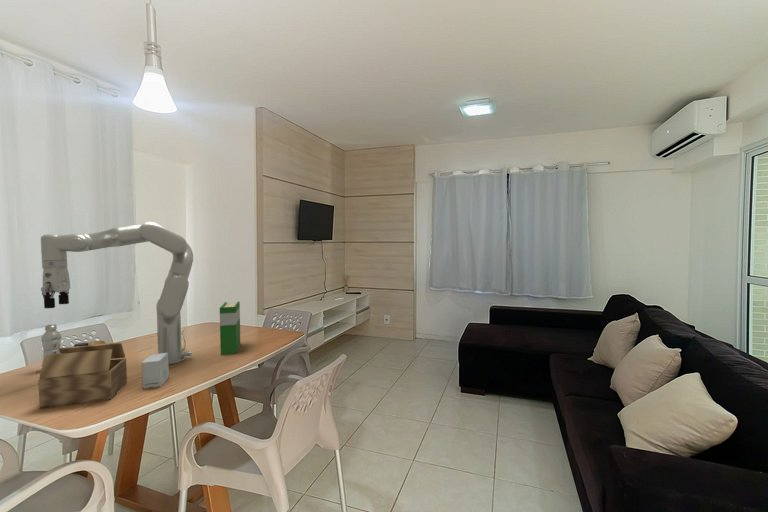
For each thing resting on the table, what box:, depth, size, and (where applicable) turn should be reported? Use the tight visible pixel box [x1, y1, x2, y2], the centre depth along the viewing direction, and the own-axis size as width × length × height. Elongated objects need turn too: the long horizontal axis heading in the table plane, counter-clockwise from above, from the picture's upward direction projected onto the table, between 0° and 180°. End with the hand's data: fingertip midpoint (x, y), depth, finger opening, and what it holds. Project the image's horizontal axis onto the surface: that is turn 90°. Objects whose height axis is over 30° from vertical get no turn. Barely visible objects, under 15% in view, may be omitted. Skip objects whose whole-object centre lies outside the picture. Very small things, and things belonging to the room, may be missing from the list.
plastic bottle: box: [40, 324, 62, 366], centre depth 153 cm, size 6×7×20 cm
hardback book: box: [219, 301, 241, 356], centre depth 181 cm, size 18×7×24 cm, turn 17°
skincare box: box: [141, 353, 170, 389], centre depth 138 cm, size 10×6×10 cm, turn 16°
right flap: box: [59, 342, 126, 360], centre depth 133 cm, size 19×8×1 cm
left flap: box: [38, 349, 112, 380], centre depth 121 cm, size 19×8×1 cm
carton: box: [38, 357, 128, 410], centre depth 127 cm, size 20×16×10 cm
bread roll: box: [87, 340, 107, 345], centre depth 171 cm, size 10×15×8 cm, turn 29°
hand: (57, 306), depth 142 cm, fingers open, 9 cm apart
